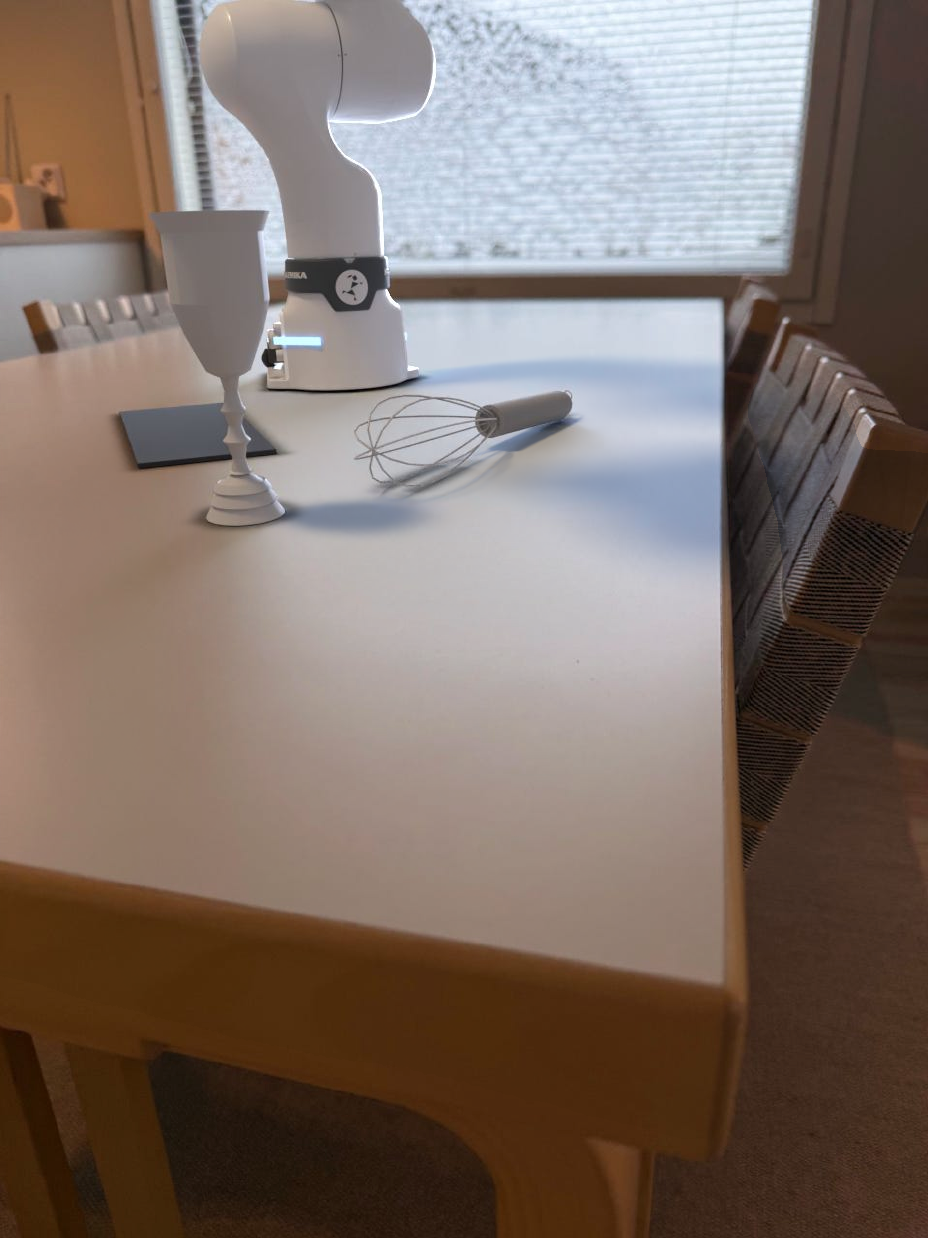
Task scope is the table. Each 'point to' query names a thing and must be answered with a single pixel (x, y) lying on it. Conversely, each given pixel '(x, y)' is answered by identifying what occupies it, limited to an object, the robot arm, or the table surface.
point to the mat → (185, 435)
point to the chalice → (223, 330)
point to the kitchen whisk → (479, 423)
